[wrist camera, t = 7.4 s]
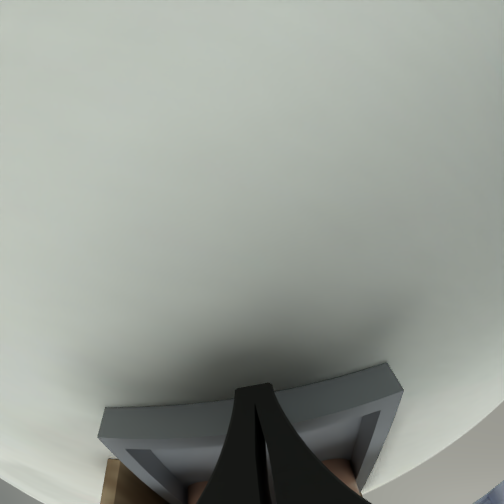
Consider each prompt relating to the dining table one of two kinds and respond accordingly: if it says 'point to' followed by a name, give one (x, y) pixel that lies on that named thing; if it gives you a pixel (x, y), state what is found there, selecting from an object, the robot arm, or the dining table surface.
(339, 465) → the pink round cylinder
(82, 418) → the dining table surface
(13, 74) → the dining table surface
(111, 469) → the wooden l-shaped bracket
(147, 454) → the tray
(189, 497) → the peg
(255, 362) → the dining table surface
